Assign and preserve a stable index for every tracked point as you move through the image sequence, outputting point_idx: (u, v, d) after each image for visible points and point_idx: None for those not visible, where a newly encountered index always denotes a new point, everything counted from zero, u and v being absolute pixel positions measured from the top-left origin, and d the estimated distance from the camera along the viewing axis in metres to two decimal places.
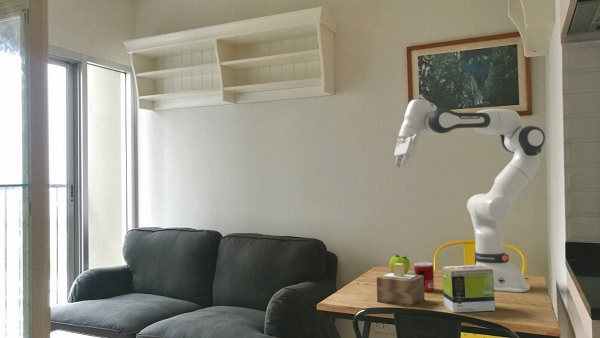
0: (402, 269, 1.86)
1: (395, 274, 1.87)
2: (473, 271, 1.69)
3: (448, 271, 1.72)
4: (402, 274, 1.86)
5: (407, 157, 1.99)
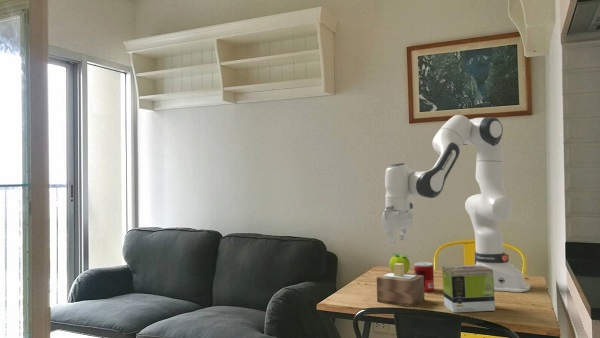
0: (402, 269, 1.86)
1: (395, 274, 1.87)
2: (473, 271, 1.69)
3: (448, 271, 1.72)
4: (402, 274, 1.86)
5: (390, 233, 1.82)
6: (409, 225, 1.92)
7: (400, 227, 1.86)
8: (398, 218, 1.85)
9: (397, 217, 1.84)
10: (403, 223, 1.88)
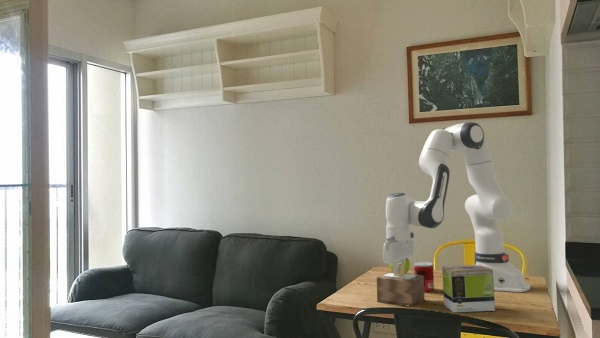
0: (402, 269, 1.86)
1: (395, 274, 1.87)
2: (473, 271, 1.69)
3: (448, 271, 1.72)
4: (402, 274, 1.86)
5: (394, 263, 1.84)
6: (410, 254, 1.92)
7: (401, 257, 1.85)
8: (399, 249, 1.85)
9: (398, 248, 1.84)
10: (404, 253, 1.87)
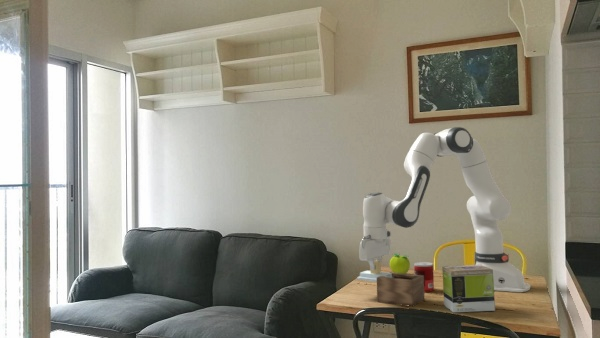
0: (379, 266, 1.92)
1: (372, 271, 1.92)
2: (473, 271, 1.69)
3: (448, 271, 1.72)
4: (378, 271, 1.92)
5: (371, 260, 1.90)
6: (387, 252, 1.98)
7: (377, 255, 1.91)
8: (375, 247, 1.90)
9: (374, 246, 1.90)
10: (380, 251, 1.93)
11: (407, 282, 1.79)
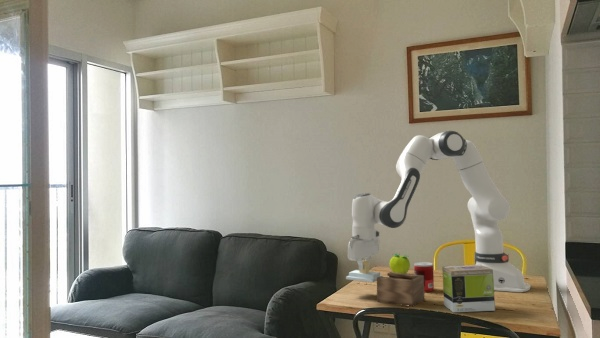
0: (367, 266, 1.95)
1: (360, 271, 1.95)
2: (473, 271, 1.69)
3: (448, 271, 1.72)
4: (367, 271, 1.95)
5: (359, 260, 1.93)
6: (376, 252, 2.01)
7: (366, 255, 1.94)
8: (364, 246, 1.94)
9: (363, 246, 1.93)
10: (369, 251, 1.96)
11: (407, 282, 1.79)
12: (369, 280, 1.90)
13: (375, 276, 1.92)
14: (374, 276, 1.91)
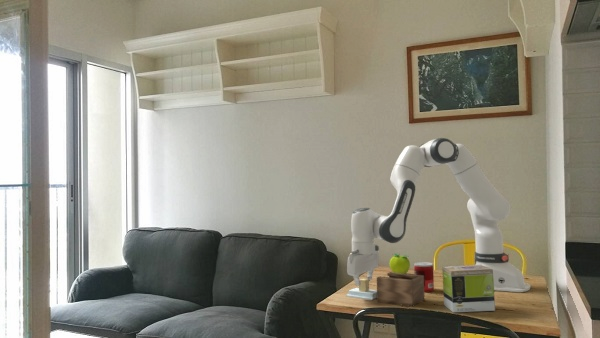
0: (367, 284, 1.95)
1: (360, 289, 1.96)
2: (473, 271, 1.69)
3: (448, 271, 1.72)
4: (367, 289, 1.95)
5: (356, 276, 1.91)
6: (375, 266, 2.01)
7: (365, 270, 1.94)
8: (363, 261, 1.94)
9: (362, 260, 1.93)
10: (368, 265, 1.96)
11: (407, 282, 1.79)
12: (368, 299, 1.90)
13: (374, 295, 1.92)
14: (373, 295, 1.91)
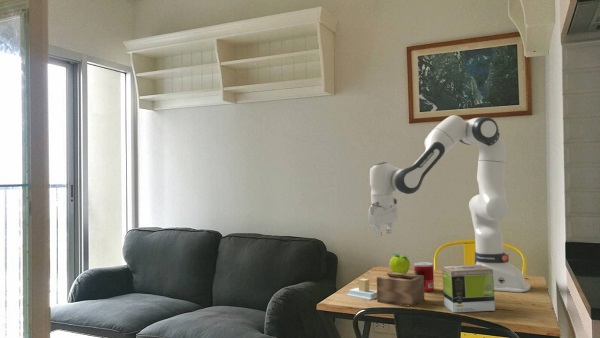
0: (367, 284, 1.95)
1: (360, 289, 1.96)
2: (473, 271, 1.69)
3: (448, 271, 1.72)
4: (366, 289, 1.95)
5: (377, 227, 1.97)
6: (394, 219, 2.07)
7: (386, 221, 2.00)
8: (383, 213, 2.00)
9: (382, 212, 1.99)
10: (388, 217, 2.02)
11: (407, 282, 1.79)
12: (366, 299, 1.90)
13: (373, 295, 1.92)
14: (372, 295, 1.91)
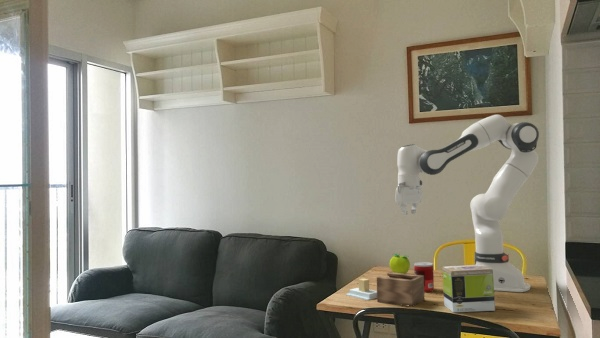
0: (366, 284, 1.95)
1: (360, 289, 1.96)
2: (473, 271, 1.69)
3: (448, 271, 1.72)
4: (366, 289, 1.95)
5: (403, 206, 2.05)
6: (419, 200, 2.15)
7: (411, 201, 2.08)
8: (409, 193, 2.08)
9: (409, 192, 2.07)
10: (413, 198, 2.10)
11: (407, 282, 1.79)
12: (364, 299, 1.90)
13: (372, 295, 1.91)
14: (371, 295, 1.91)
